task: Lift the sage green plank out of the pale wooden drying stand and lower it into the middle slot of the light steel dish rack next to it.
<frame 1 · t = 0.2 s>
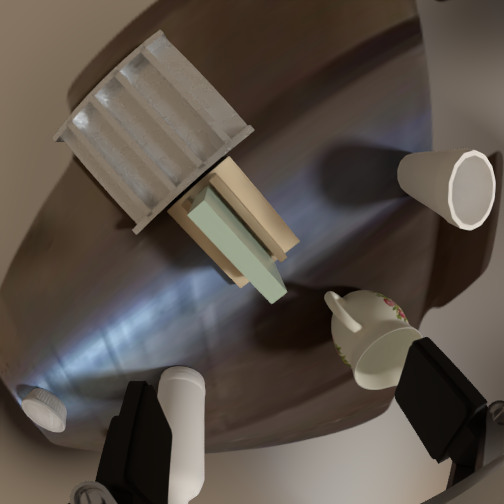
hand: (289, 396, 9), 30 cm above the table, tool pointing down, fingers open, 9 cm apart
stand: (234, 223, 38), on the table
rack: (151, 130, 32), on the table
pitcher: (349, 305, 44), on the table
bottle: (182, 380, 47), on the table
ramekin: (50, 400, 47), on the table
sage green plank: (234, 226, 36), point 1 cm above the table, touching stand
foam cup: (412, 173, 38), on the table
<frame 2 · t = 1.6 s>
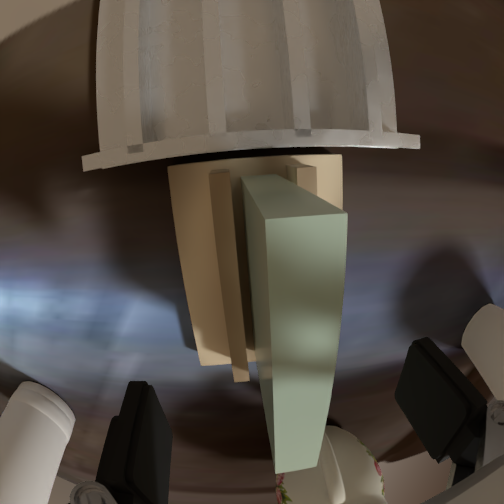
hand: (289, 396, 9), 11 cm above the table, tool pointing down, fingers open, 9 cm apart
stand: (261, 264, 20), on the table
rack: (244, 23, 14), on the table
pitcher: (314, 436, 28), on the table
bottle: (47, 403, 23), on the table
sage green plank: (264, 273, 18), point 1 cm above the table, touching stand
foam cup: (478, 326, 25), on the table
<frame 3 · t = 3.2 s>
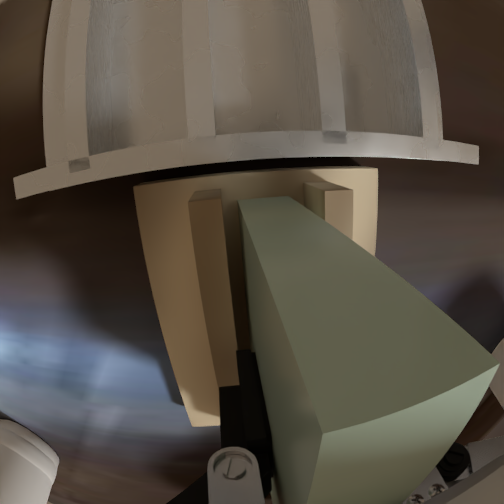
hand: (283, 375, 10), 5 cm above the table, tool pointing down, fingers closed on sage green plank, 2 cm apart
stand: (265, 312, 15), on the table
bottle: (28, 441, 18), on the table
sage green plank: (270, 329, 13), point 2 cm above the table, touching gripper, stand
foam cup: (500, 354, 21), on the table
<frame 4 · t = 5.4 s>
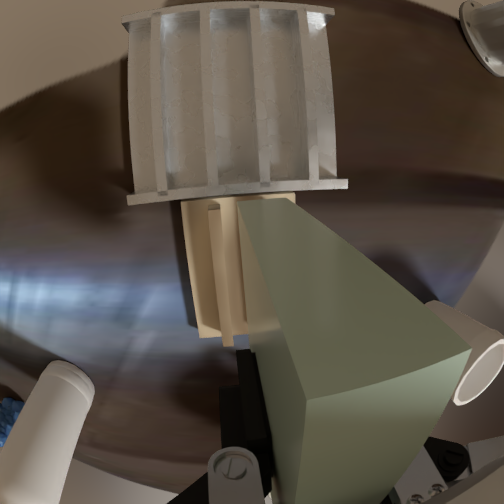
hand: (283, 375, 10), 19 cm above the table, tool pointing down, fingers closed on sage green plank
stand: (242, 266, 29), on the table
rack: (231, 97, 23), on the table
bottle: (70, 379, 32), on the table
grapes: (16, 402, 33), on the table
sage green plank: (268, 325, 14), point 15 cm above the table, touching gripper
foam cup: (426, 319, 35), on the table
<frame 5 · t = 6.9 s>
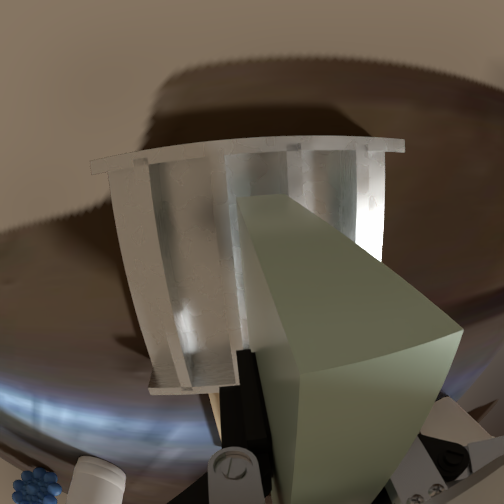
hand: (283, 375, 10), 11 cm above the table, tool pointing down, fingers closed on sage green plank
rack: (256, 262, 21), on the table
bottle: (102, 467, 30), on the table
grapes: (45, 470, 31), on the table
sage green plank: (267, 321, 14), point 7 cm above the table, touching gripper
foam cup: (434, 410, 32), on the table
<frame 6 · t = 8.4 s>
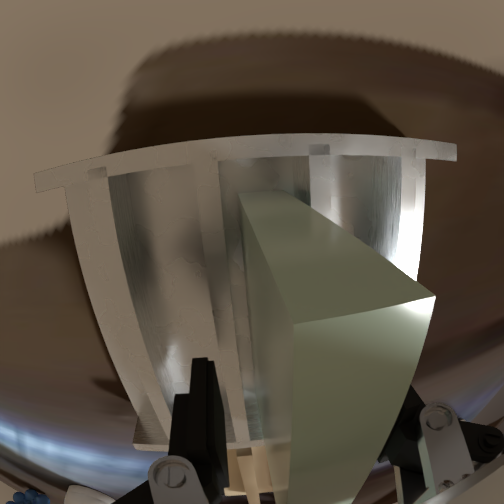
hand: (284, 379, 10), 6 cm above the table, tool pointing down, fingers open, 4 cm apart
stand: (270, 451, 21), on the table
rack: (261, 299, 16), on the table
bottle: (94, 495, 25), on the table
grapes: (37, 491, 26), on the table
sage green plank: (267, 312, 15), point 1 cm above the table, touching rack
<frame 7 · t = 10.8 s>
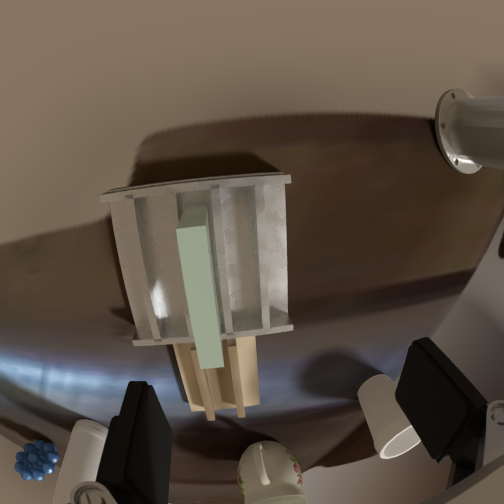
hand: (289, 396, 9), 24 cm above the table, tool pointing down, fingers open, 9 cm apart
stand: (218, 368, 37), on the table
rack: (202, 256, 32), on the table
pitcher: (261, 446, 45), on the table
bottle: (94, 430, 39), on the table
grapes: (45, 442, 40), on the table
sage green plank: (203, 260, 30), point 1 cm above the table, touching rack
foam cup: (372, 386, 44), on the table
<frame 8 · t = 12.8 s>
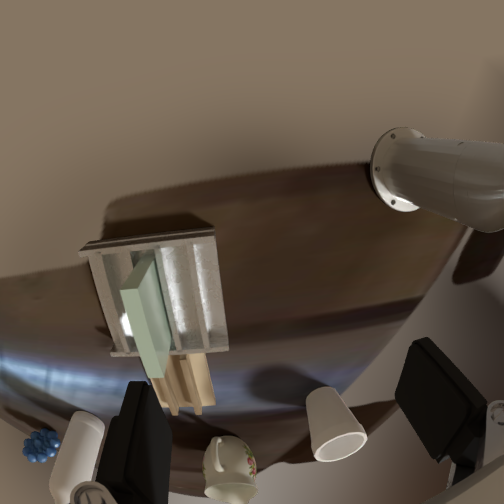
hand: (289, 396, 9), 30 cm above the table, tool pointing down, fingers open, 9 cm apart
stand: (180, 374, 45), on the table
rack: (158, 291, 40), on the table
pitcher: (226, 440, 54), on the table
bottle: (89, 420, 49), on the table
grapes: (49, 430, 50), on the table
sage green plank: (157, 296, 39), point 1 cm above the table, touching rack
foam cup: (320, 396, 51), on the table
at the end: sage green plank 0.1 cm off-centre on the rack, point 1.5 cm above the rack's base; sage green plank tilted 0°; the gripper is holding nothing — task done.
